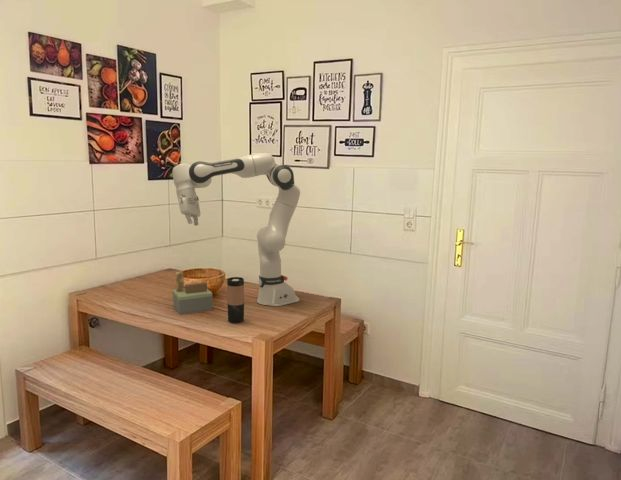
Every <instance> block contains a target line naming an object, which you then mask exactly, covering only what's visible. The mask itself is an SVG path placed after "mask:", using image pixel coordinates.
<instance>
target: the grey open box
mask: <svg viewBox="0 0 621 480" xmlns="http://www.w3.org/2000/svg"><path fill="white" fill-rule="evenodd" d="M213 301H214V299H213V295H212V296H209V297H201V298H193V299H186V300H179V299H178V298H177V297H176V296H175V295H174V293H173V292H172V303H173V304H172V306H173V308H174V309H175V311H176V312H177V313H178V314H179V315H186V314H193V313H200V312H207V311H209V312H210V311H213V310H214V309H213V308H214V306H213V305H214V304H213Z"/></svg>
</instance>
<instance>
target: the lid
mask: <svg viewBox="0 0 621 480" xmlns="http://www.w3.org/2000/svg"><path fill="white" fill-rule="evenodd" d="M173 293H174V295H175V296H176V297H177V298H178V299H179V300H186V299H193V298H201V297H209V296H212V297H213V292H212V291H211V290H210V289H208V284H207V282H196V283H187V284H186V283H184V291H181V292H177V291H176V288H174V289H172V294H173Z"/></svg>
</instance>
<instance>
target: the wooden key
mask: <svg viewBox="0 0 621 480" xmlns="http://www.w3.org/2000/svg"><path fill="white" fill-rule="evenodd" d="M184 276H185V275H184V272H183V271H178V272H177V271H176V272H175V283H176V288H175V289H176V291H177V292H181V291H184V288H185V282H184V281H185V279H184V278H185V277H184Z"/></svg>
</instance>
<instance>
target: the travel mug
mask: <svg viewBox="0 0 621 480" xmlns="http://www.w3.org/2000/svg"><path fill="white" fill-rule="evenodd" d="M244 282H245V279H244V278H243V277H239V276H233V277H229V278H227V279H226V285H227V287H226V288H227V291H226V292H227V296H226V297H227V299H226V301H227V304H226V305H227V319H228V320H227V321H228V322H229V323H230V324H241V323H243V322H244V320H245V285H244V284H245V283H244Z"/></svg>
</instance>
